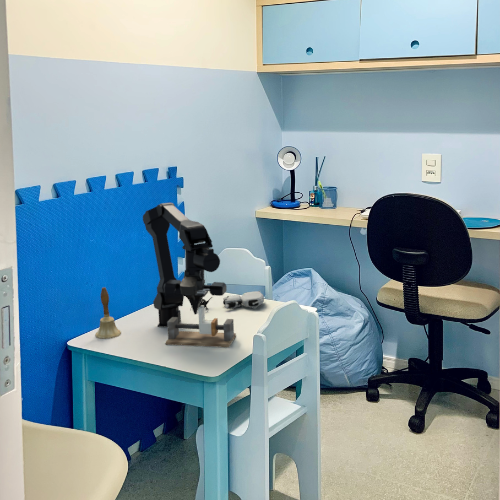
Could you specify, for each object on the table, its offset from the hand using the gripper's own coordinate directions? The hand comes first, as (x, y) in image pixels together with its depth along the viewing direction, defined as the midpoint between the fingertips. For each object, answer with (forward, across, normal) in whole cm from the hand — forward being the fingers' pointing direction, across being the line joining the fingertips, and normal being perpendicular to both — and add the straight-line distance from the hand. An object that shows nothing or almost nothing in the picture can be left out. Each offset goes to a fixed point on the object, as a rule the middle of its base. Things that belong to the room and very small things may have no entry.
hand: (195, 314), depth 201 cm
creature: (+9, -7, +30) cm, 33 cm away
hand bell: (+10, -30, +2) cm, 32 cm away
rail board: (+8, +2, 0) cm, 9 cm away
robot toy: (+9, +7, +37) cm, 39 cm away
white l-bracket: (+6, +4, 0) cm, 7 cm away
